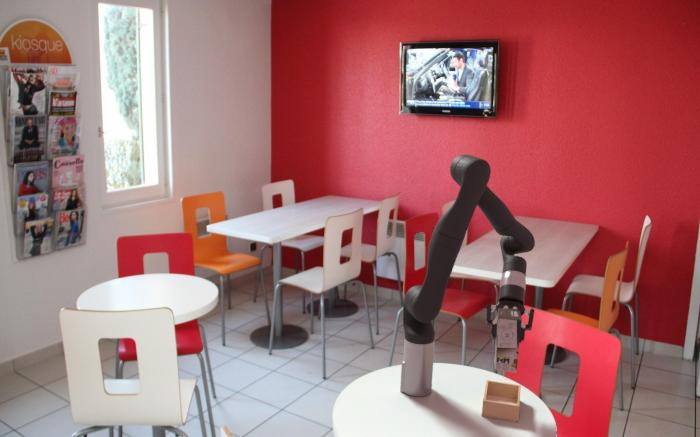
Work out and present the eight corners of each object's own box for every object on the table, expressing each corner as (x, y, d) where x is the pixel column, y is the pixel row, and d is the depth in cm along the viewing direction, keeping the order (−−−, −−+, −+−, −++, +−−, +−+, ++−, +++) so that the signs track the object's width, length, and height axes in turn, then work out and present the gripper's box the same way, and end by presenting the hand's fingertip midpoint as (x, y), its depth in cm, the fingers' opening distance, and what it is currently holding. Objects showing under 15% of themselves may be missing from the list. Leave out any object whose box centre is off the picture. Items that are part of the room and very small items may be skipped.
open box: (481, 416, 183) (483, 400, 182) (485, 394, 196) (486, 380, 195) (517, 422, 181) (519, 406, 180) (519, 400, 193) (520, 385, 192)
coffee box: (517, 373, 180) (522, 320, 177) (494, 370, 182) (498, 318, 178) (515, 359, 189) (520, 308, 185) (493, 357, 190) (498, 306, 187)
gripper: (488, 280, 190) (482, 331, 182) (537, 286, 187) (533, 338, 178) (488, 291, 197) (482, 341, 188) (536, 297, 193) (532, 348, 185)
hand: (507, 339), depth 183 cm, fingers closed on coffee box, 6 cm apart
